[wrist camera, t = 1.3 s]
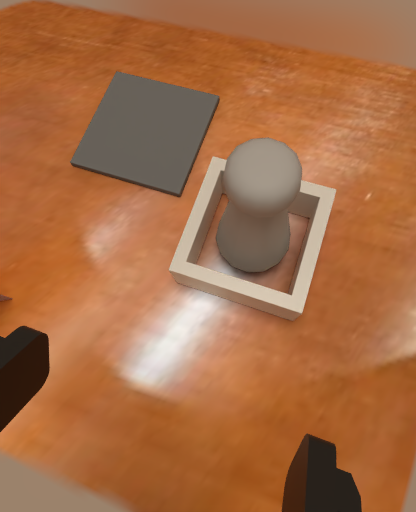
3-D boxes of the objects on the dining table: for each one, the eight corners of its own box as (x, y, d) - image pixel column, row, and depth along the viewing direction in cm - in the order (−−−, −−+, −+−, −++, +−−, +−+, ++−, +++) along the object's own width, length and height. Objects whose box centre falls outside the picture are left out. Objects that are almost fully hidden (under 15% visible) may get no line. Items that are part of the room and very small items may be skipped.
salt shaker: (206, 263, 31) (189, 192, 19) (232, 206, 33) (232, 105, 20) (272, 289, 30) (298, 232, 18) (295, 229, 32) (335, 137, 19)
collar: (176, 282, 31) (168, 269, 27) (215, 180, 34) (213, 156, 30) (293, 321, 29) (302, 313, 26) (324, 211, 32) (336, 189, 28)
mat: (72, 165, 35) (70, 162, 35) (118, 75, 38) (116, 71, 37) (180, 197, 33) (179, 194, 33) (219, 100, 36) (219, 96, 36)
